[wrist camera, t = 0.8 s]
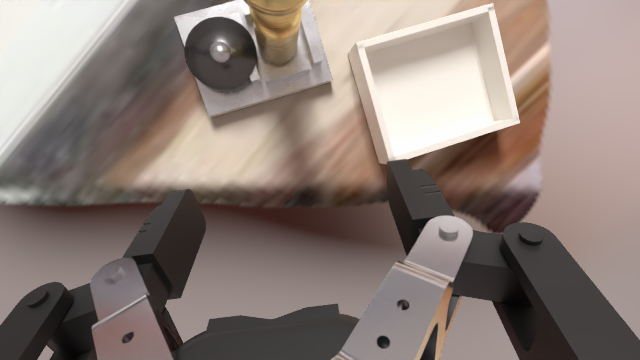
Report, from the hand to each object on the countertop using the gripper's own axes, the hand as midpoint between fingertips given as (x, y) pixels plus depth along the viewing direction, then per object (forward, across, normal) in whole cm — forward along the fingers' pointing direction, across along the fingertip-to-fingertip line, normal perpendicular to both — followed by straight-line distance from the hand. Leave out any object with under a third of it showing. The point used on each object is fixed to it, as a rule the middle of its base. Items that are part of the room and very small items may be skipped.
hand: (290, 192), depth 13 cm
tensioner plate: (+22, +4, -1) cm, 22 cm away
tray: (+21, -12, +5) cm, 25 cm away
